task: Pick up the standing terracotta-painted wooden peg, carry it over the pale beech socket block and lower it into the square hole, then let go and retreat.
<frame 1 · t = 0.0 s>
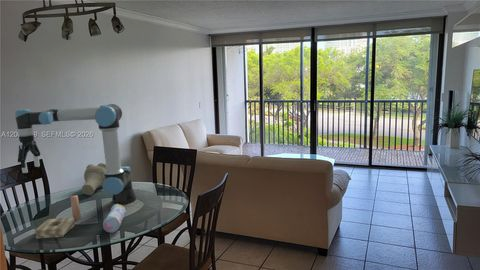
hand: (31, 169, 208), 28 cm above the table, fingers open, 13 cm apart
peg: (77, 219, 201), on the table
socket block: (56, 231, 186), on the table
vase: (93, 191, 250), on the table
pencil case: (115, 226, 190), on the table
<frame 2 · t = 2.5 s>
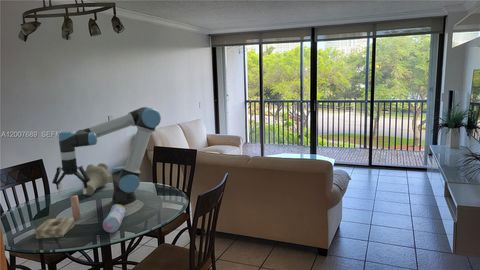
hand: (73, 194, 198), 15 cm above the table, fingers open, 13 cm apart
nothing on the table moved.
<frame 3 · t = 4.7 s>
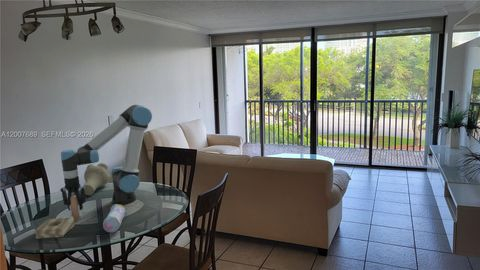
hand: (76, 215, 200), 3 cm above the table, fingers closed on peg, 4 cm apart
peg: (77, 219, 201), on the table, touching gripper
everything else where it was.
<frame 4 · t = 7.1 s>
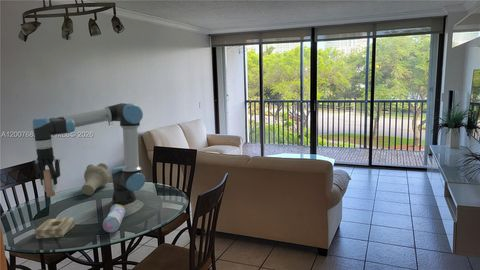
hand: (50, 190, 182), 23 cm above the table, fingers closed on peg, 4 cm apart
peg: (51, 195, 182), point 20 cm above the table, touching gripper
everything else where it was.
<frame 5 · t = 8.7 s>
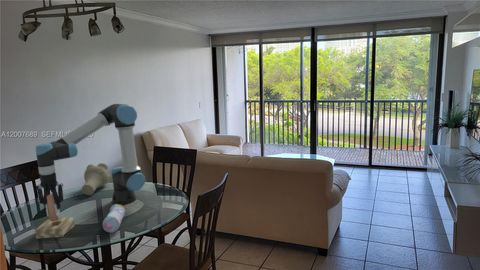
hand: (53, 215, 184), 10 cm above the table, fingers closed on peg, 4 cm apart
peg: (54, 219, 184), point 7 cm above the table, touching gripper
everything else where it was.
when the fingers open (6 cm above the table, at t = 9.9 s): peg drops 2 cm, resting on socket block.
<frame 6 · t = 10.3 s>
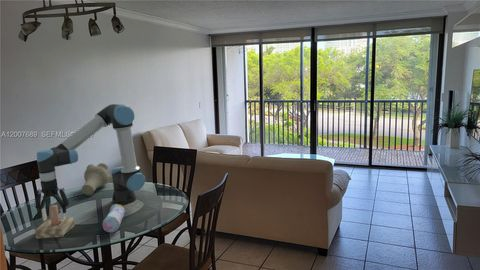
hand: (54, 219, 184), 7 cm above the table, fingers open, 9 cm apart
peg: (56, 230, 186), resting on socket block
everything else where it was.
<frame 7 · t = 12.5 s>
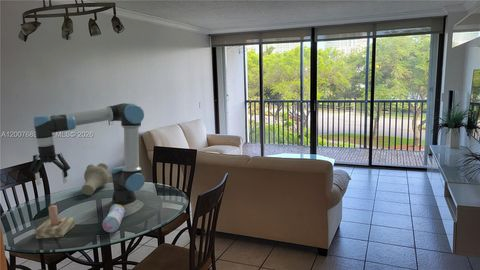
hand: (52, 183, 183), 26 cm above the table, fingers open, 13 cm apart
nothing on the table moved.
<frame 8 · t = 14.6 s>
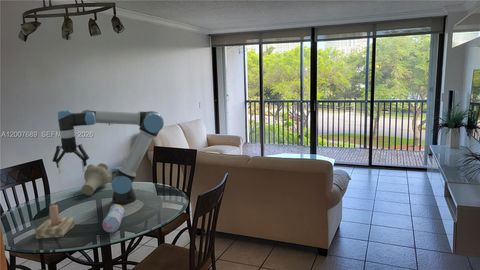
hand: (72, 172, 203), 27 cm above the table, fingers open, 13 cm apart
nothing on the table moved.
at the end: peg 0.1 cm off-centre on the socket block, point 0.4 cm above the socket block's base; peg tilted 2°; the gripper is holding nothing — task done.
